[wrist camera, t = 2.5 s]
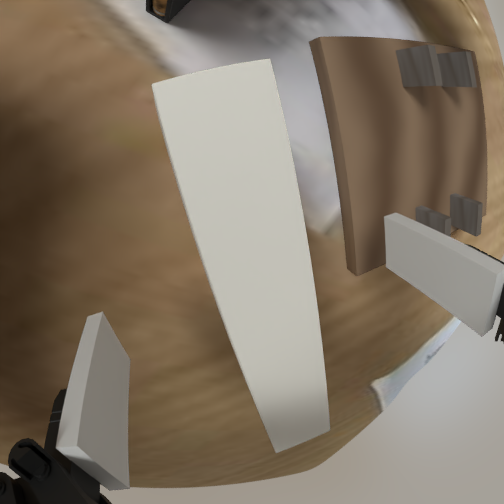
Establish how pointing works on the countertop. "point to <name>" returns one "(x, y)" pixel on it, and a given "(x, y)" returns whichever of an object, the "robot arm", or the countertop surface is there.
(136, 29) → the countertop surface
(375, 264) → the clip board
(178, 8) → the ammunition clip
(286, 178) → the door panel
